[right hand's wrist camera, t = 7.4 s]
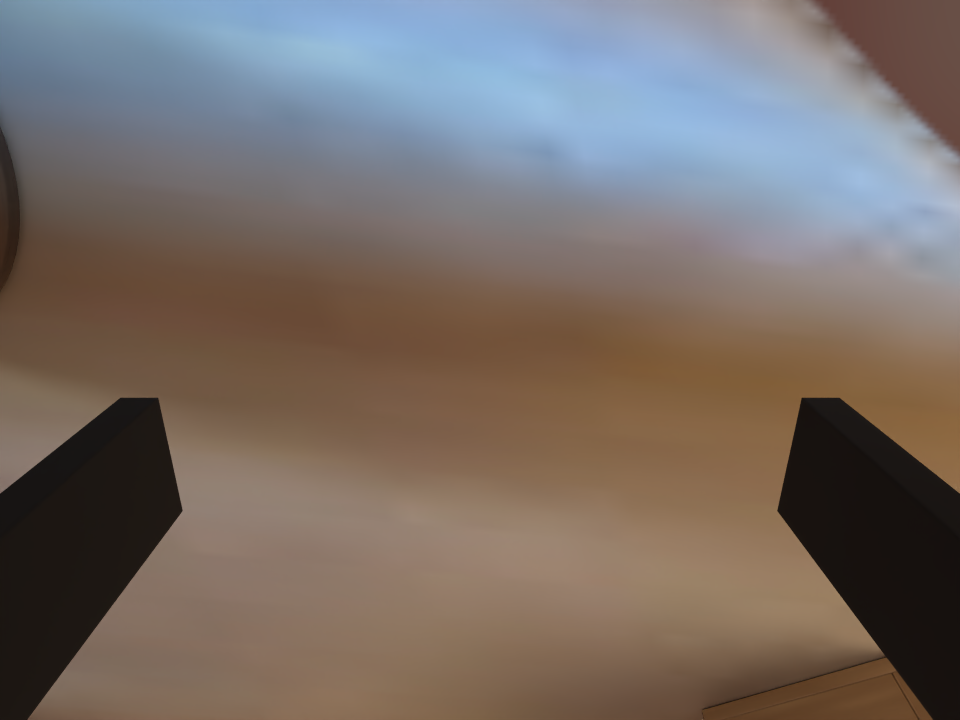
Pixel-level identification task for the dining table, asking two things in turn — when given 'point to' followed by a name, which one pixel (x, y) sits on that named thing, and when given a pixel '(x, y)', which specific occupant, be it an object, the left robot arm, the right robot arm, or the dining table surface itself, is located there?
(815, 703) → the chest
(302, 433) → the dining table surface
